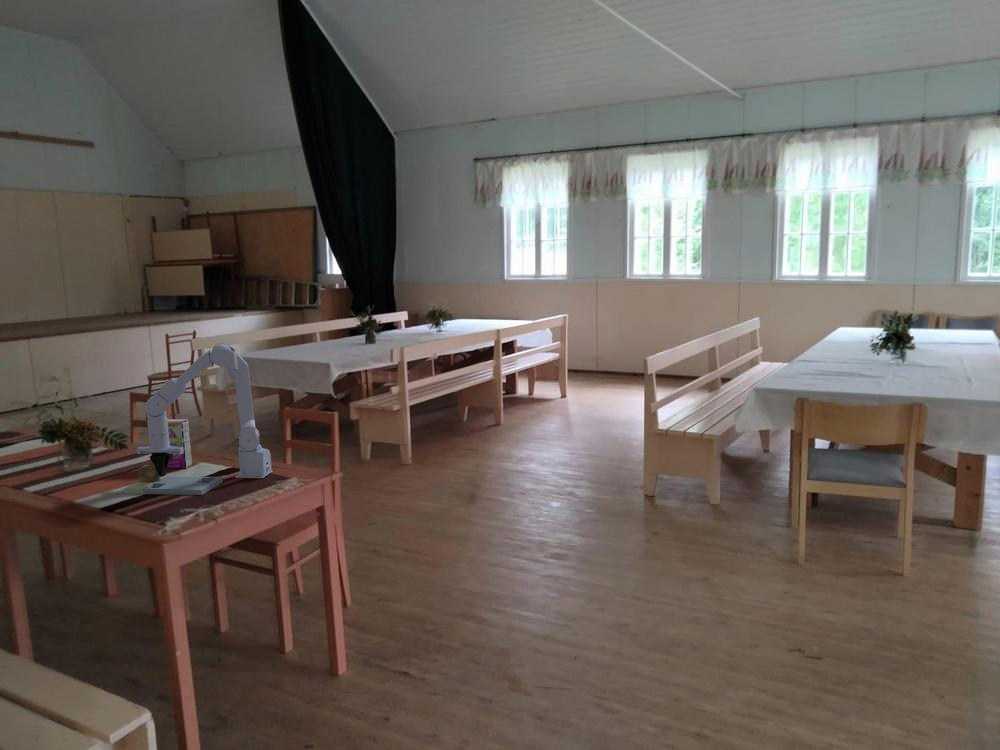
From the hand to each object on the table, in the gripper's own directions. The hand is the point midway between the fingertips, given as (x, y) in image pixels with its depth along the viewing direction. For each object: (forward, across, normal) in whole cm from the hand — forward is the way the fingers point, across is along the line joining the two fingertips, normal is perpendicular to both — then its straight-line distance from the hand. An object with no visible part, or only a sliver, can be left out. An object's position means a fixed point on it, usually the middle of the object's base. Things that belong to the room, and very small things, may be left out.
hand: (162, 475), depth 235 cm
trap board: (+3, -6, +3) cm, 7 cm away
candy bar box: (+3, +8, -19) cm, 21 cm away
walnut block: (+1, +4, +1) cm, 4 cm away
